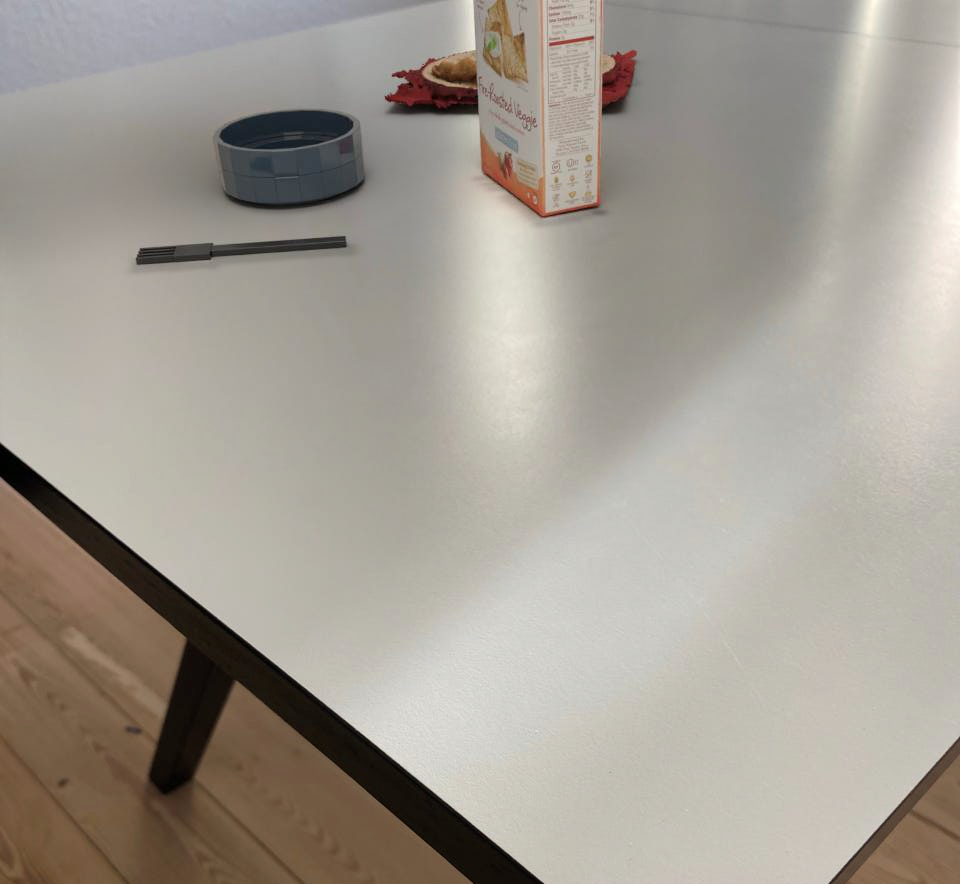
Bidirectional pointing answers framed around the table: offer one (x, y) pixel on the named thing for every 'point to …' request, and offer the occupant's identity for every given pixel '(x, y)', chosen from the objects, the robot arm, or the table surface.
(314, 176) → the bowl
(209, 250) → the fork
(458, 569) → the table surface
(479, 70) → the cracker box
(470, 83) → the plate with food
